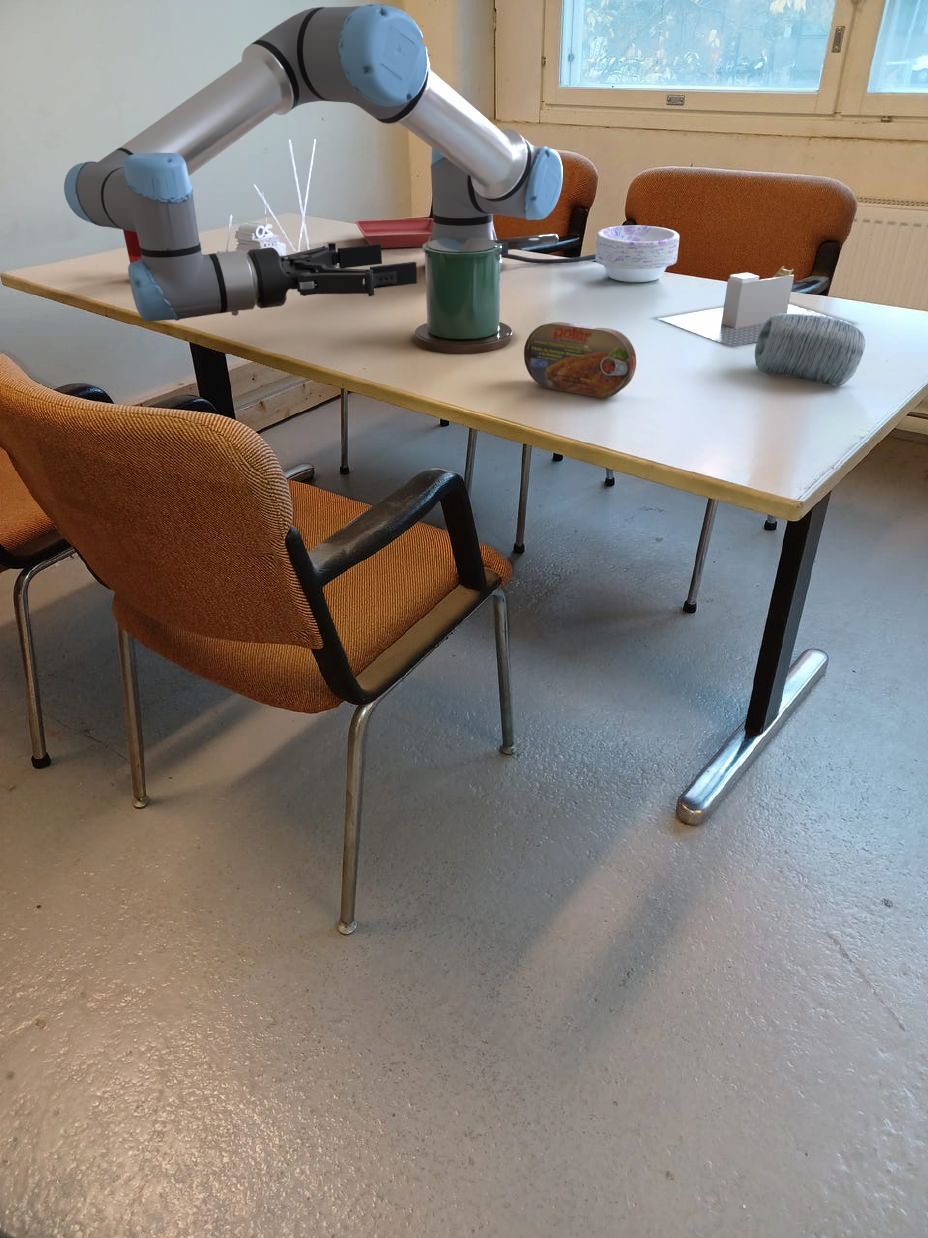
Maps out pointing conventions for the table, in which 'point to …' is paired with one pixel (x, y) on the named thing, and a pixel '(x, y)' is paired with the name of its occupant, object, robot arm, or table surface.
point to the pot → (468, 283)
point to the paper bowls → (636, 252)
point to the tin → (580, 359)
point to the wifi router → (269, 225)
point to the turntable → (463, 341)
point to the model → (743, 309)
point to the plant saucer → (397, 232)
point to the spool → (809, 348)
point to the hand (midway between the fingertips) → (397, 262)
